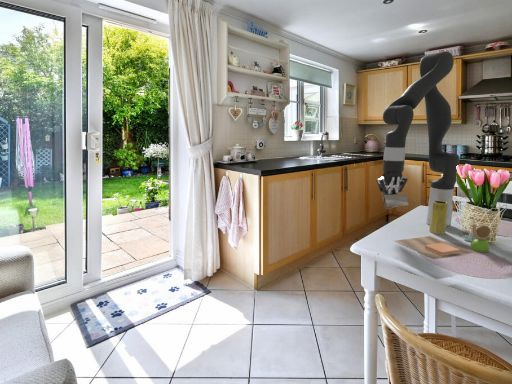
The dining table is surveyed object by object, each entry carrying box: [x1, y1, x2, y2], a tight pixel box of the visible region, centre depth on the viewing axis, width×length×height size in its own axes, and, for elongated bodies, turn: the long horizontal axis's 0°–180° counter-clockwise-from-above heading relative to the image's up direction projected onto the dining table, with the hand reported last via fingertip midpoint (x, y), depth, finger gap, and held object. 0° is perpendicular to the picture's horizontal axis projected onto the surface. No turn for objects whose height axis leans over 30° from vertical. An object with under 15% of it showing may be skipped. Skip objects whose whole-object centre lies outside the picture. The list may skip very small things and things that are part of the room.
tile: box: [425, 243, 460, 256], centre depth 111 cm, size 8×1×7 cm
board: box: [394, 235, 474, 260], centre depth 115 cm, size 18×18×2 cm
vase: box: [428, 201, 448, 235], centre depth 130 cm, size 6×6×14 cm
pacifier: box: [461, 227, 477, 243], centre depth 123 cm, size 7×6×6 cm
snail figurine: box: [470, 220, 491, 253], centre depth 111 cm, size 5×6×12 cm
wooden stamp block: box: [380, 189, 410, 210], centre depth 125 cm, size 6×10×7 cm, turn 108°
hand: (389, 202), depth 125 cm, fingers closed on wooden stamp block
